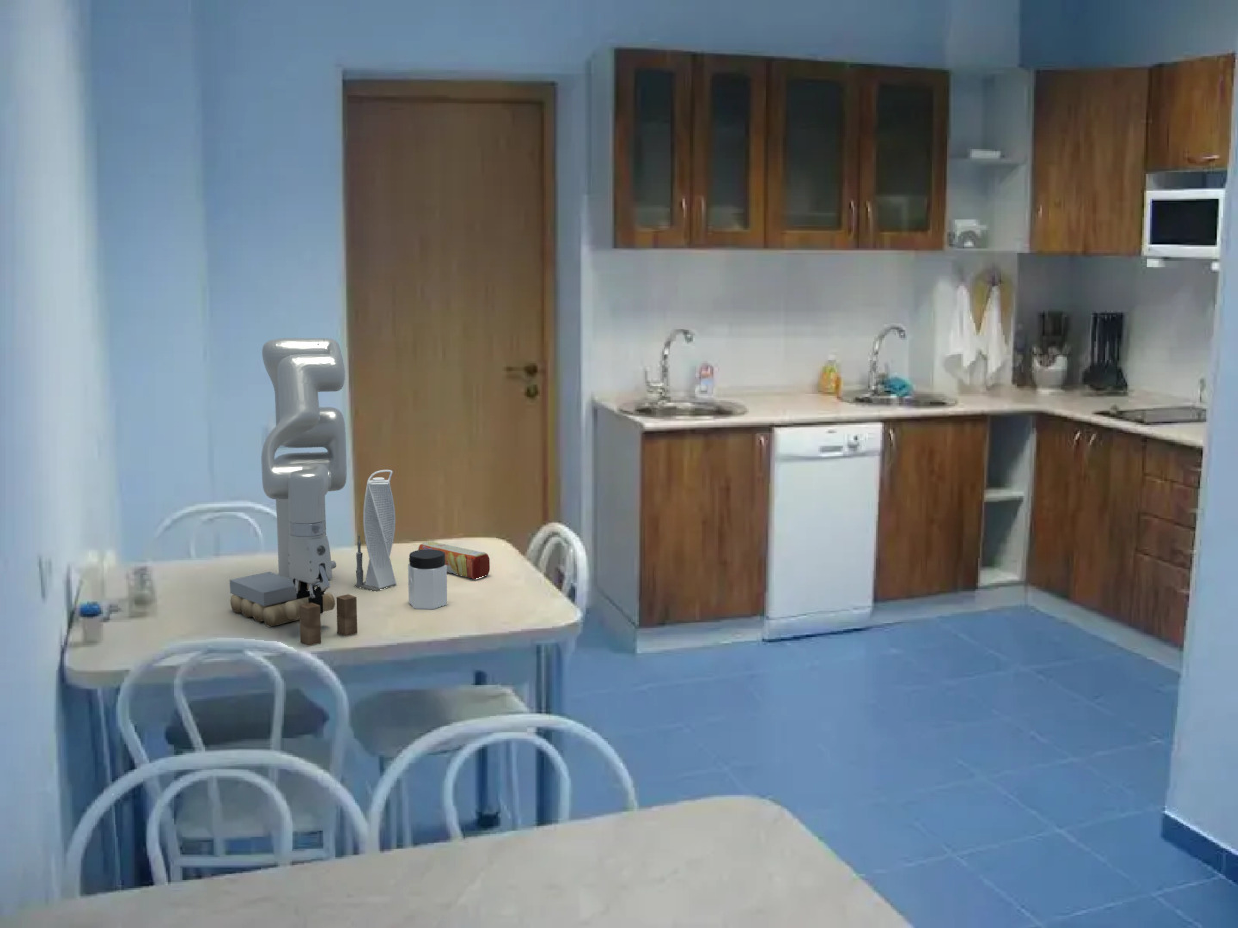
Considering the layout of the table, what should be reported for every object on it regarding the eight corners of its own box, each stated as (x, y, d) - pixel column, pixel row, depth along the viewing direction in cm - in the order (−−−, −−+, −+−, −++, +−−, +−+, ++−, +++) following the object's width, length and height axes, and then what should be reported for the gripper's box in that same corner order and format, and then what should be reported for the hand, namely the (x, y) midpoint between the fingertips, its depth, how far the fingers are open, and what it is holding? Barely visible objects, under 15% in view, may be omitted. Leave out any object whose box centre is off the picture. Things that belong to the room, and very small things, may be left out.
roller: (325, 607, 275) (324, 590, 274) (335, 611, 272) (334, 594, 271) (284, 617, 267) (284, 599, 267) (294, 621, 265) (294, 603, 264)
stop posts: (349, 630, 271) (348, 594, 270) (357, 633, 269) (356, 597, 268) (300, 642, 263) (299, 605, 261) (308, 645, 261) (307, 608, 259)
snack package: (415, 566, 323) (415, 541, 322) (435, 562, 328) (434, 536, 327) (472, 582, 310) (472, 555, 309) (492, 577, 315) (492, 551, 314)
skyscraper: (380, 579, 311) (378, 467, 305) (403, 584, 306) (402, 471, 301) (354, 586, 304) (352, 472, 299) (378, 592, 299) (376, 476, 294)
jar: (405, 600, 293) (404, 550, 291) (439, 597, 296) (438, 547, 294) (415, 611, 285) (415, 560, 283) (450, 607, 288) (450, 556, 286)
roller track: (270, 601, 290) (269, 584, 290) (313, 618, 278) (313, 600, 278) (230, 610, 283) (230, 592, 282) (273, 628, 271) (273, 609, 271)
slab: (269, 584, 290) (269, 571, 289) (304, 597, 280) (303, 584, 280) (230, 592, 282) (229, 579, 282) (264, 606, 273) (263, 592, 272)
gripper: (345, 532, 264) (347, 617, 267) (301, 519, 275) (303, 601, 278) (314, 538, 258) (317, 624, 261) (270, 524, 269) (273, 608, 273)
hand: (310, 611), depth 270 cm, fingers closed on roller, 3 cm apart
